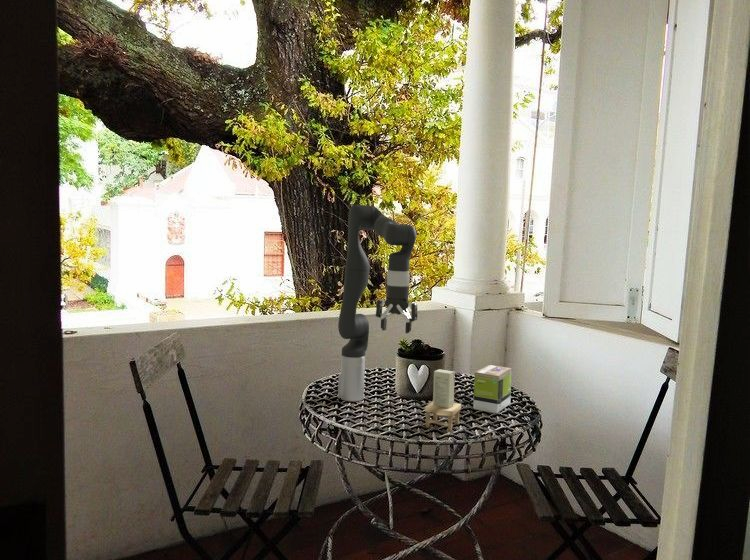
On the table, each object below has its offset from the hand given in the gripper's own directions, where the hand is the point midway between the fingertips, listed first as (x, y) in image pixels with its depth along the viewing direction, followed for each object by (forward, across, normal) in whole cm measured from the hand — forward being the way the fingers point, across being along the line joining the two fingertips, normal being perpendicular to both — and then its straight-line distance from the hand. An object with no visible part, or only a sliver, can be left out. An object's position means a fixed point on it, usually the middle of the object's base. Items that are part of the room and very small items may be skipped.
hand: (395, 331), depth 217 cm
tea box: (+33, -25, -41) cm, 58 cm away
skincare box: (+26, -15, -10) cm, 32 cm away
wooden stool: (+33, -15, -10) cm, 38 cm away
